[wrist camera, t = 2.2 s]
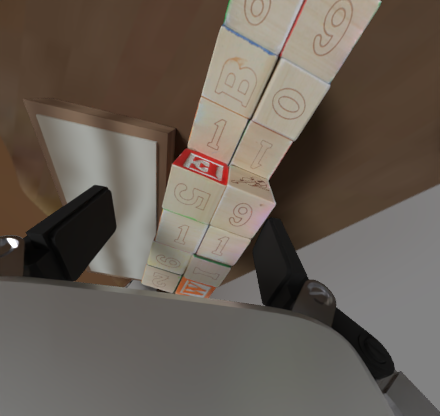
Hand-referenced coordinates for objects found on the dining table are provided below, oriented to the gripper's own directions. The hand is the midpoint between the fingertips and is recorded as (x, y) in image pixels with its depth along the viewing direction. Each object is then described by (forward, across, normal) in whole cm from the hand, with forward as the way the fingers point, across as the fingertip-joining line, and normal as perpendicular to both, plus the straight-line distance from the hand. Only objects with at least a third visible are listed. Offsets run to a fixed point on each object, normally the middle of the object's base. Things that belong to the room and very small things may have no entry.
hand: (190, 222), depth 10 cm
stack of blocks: (+12, -2, -2) cm, 13 cm away
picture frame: (+13, +10, +10) cm, 19 cm away
